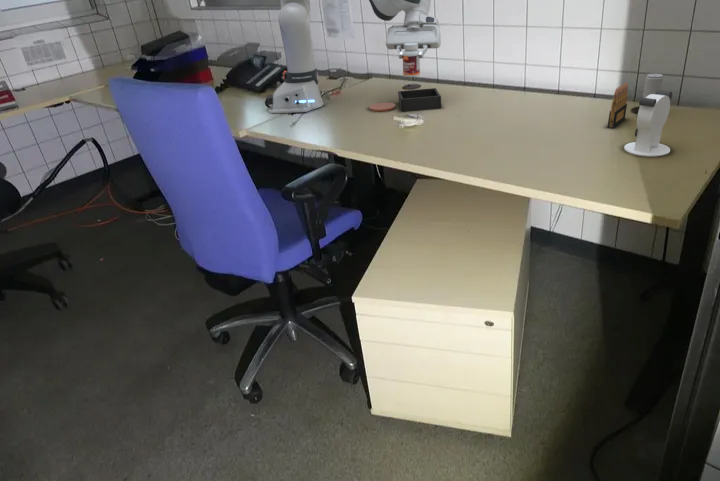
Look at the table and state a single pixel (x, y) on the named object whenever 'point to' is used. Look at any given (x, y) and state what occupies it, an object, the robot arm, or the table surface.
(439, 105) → the black box
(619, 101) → the brown panel in holder
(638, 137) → the white disc-based upright fixture
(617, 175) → the table surface
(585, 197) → the table surface
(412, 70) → the pill bottle
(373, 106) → the coaster
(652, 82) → the beverage can
